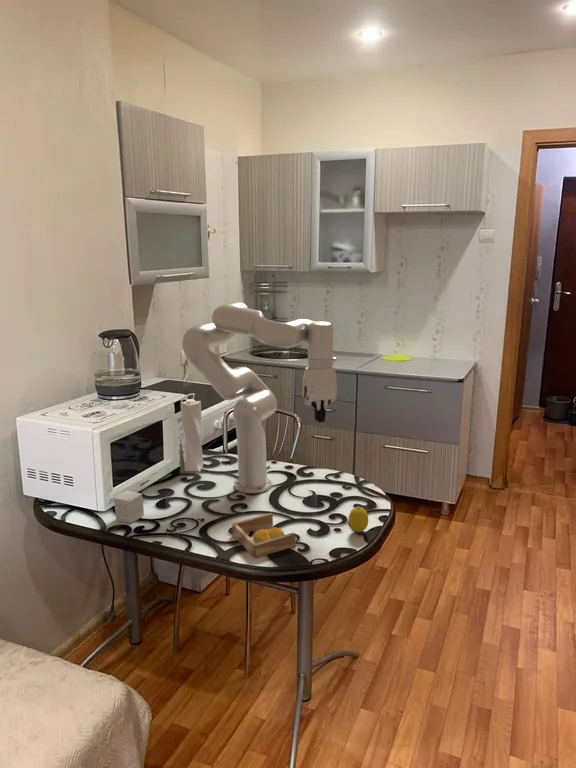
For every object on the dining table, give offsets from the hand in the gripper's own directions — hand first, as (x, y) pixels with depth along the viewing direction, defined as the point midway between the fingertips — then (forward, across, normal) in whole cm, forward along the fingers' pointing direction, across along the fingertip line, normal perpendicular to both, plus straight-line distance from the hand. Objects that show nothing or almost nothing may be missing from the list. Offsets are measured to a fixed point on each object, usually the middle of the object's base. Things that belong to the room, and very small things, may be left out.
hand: (320, 420), depth 182 cm
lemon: (+27, +1, +23) cm, 36 cm away
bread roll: (+27, +25, +16) cm, 40 cm away
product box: (+27, +56, -18) cm, 65 cm away
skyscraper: (+28, +27, -45) cm, 59 cm away
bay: (+27, +26, +14) cm, 40 cm away
